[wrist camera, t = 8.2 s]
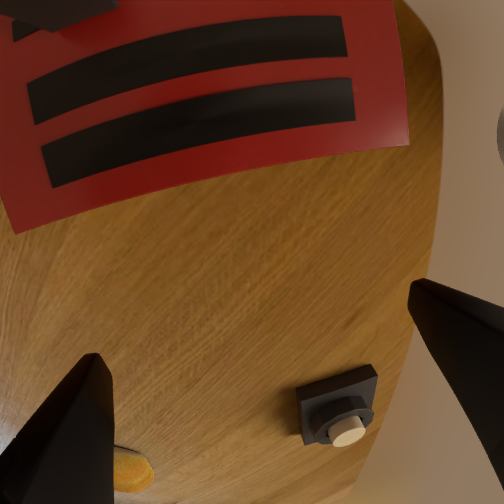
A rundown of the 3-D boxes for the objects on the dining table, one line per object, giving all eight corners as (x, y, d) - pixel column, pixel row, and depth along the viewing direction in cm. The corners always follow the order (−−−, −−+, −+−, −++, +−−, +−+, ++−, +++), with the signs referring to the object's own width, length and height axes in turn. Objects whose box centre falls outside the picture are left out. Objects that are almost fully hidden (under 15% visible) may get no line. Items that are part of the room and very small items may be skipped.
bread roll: (139, 443, 30) (139, 473, 26) (159, 473, 34) (160, 498, 30) (75, 441, 29) (71, 469, 25) (102, 472, 33) (101, 496, 29)
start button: (360, 410, 28) (367, 423, 27) (357, 427, 30) (363, 439, 28) (327, 422, 28) (333, 435, 26) (326, 437, 30) (332, 450, 28)
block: (371, 363, 30) (386, 388, 27) (362, 414, 34) (373, 435, 31) (295, 388, 29) (306, 416, 26) (300, 434, 34) (308, 458, 31)
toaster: (306, -25, 14) (373, -76, 7) (331, 123, 18) (411, 145, 11) (42, 31, 12) (-34, 7, 5) (74, 181, 17) (13, 236, 10)
